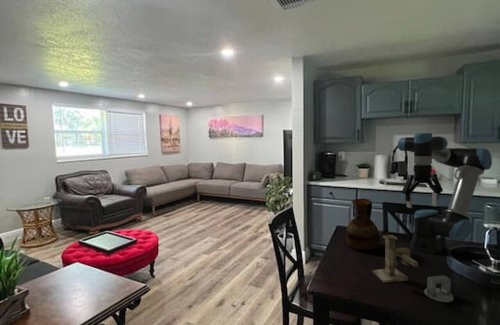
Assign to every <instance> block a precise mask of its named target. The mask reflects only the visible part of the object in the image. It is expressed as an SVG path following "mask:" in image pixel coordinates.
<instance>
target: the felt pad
mask: <svg viewBox="0 0 500 325" xmlns="http://www.w3.org/2000/svg"><path fill="white" fill-rule="evenodd" d="M436 293H437V296H436V297H432V296H431V295H429V294H428V293H427V287H426V288H425V289H424V294H425V296H427V297H428V298H430V299H431V300H434V301H437V302H442V303H450V302H453V301H454V295H453V294H452V293H451V292H450V295H447V296H445V295H444V294H442V293H441V292H440V287H439V288H438V287H436Z"/></svg>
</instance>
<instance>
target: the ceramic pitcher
mask: <svg viewBox="0 0 500 325" xmlns="http://www.w3.org/2000/svg"><path fill="white" fill-rule="evenodd" d="M351 203H352V204H353V205H354V206H355V208H356V216H355V217H354V218H352V219H351V220H350V222H349V223H348V224H347V227H346V230H345V240H346V243H348V245H349V246H350V247H352V248H355V249H356V250H361V251H369V250H374V249H376V248H377V247H379V246H380V243H381V235H380V232H379V231H380V230H378V227H377V226H376V224H375V222H374V221H372V220H371V216H372V208H373V203H372V200H370V199H368V198H356V199H353V200H352V201H351Z"/></svg>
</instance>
